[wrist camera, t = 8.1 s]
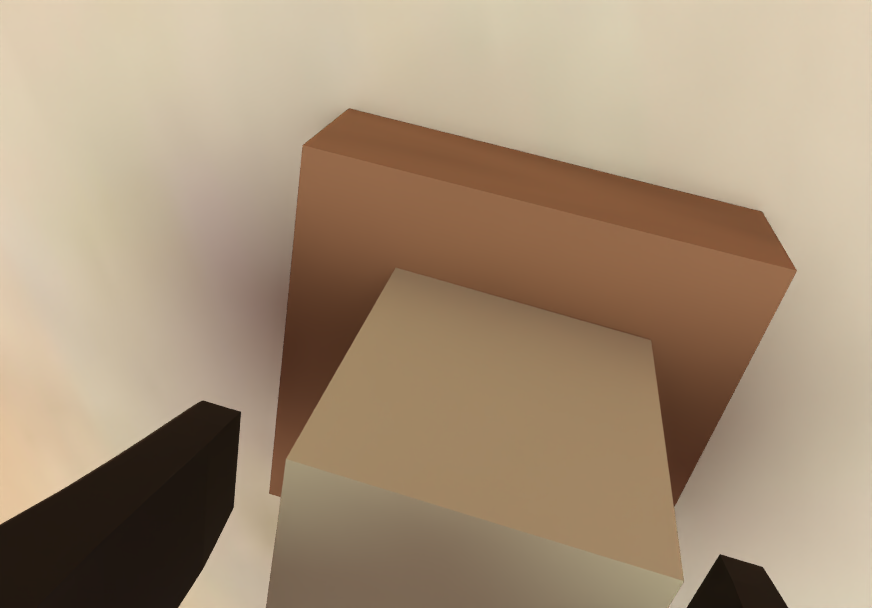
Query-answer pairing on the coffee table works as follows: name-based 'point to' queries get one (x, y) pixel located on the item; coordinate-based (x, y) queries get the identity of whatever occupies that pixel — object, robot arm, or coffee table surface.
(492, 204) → the walnut base
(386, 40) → the coffee table surface
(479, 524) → the beige block
